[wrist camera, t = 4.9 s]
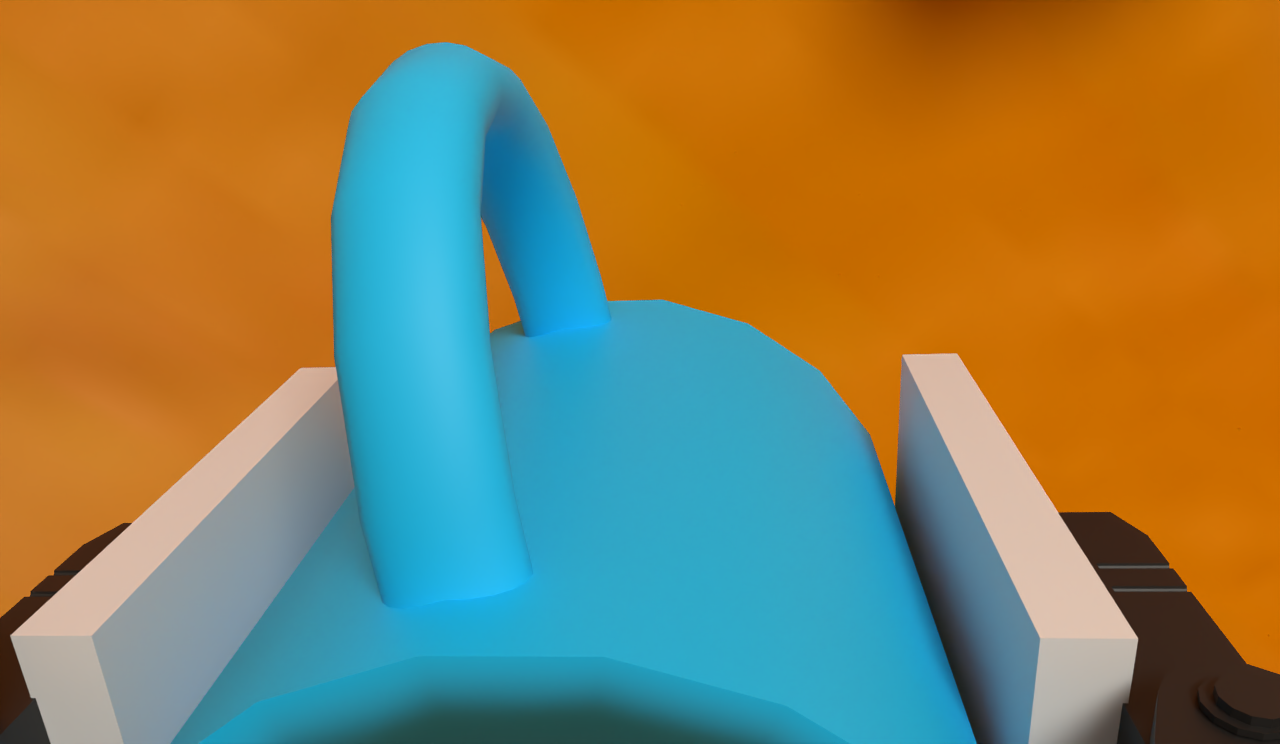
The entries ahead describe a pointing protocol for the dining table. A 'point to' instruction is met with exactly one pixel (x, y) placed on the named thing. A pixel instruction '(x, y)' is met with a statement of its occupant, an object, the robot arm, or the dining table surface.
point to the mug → (569, 487)
